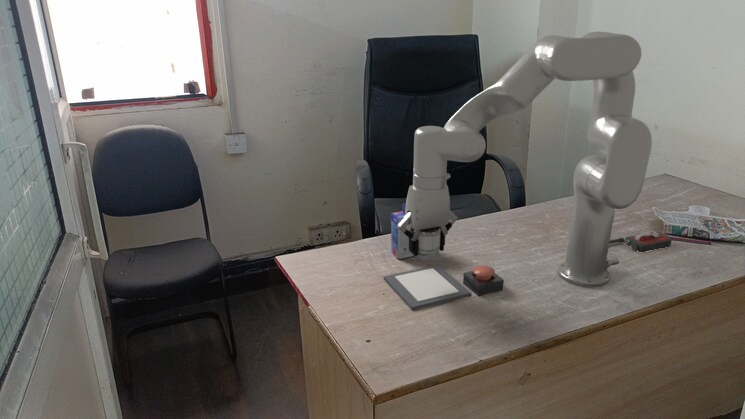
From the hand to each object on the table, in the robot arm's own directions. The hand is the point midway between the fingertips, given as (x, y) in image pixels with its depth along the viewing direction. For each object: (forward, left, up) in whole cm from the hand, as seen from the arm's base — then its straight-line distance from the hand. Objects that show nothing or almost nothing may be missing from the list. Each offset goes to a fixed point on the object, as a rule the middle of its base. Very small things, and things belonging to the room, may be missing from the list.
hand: (426, 250), depth 130 cm
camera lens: (0, 0, -2) cm, 2 cm away
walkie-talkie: (-67, +4, -11) cm, 68 cm away
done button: (-13, +6, -8) cm, 16 cm away
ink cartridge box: (-5, -19, -10) cm, 22 cm away
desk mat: (0, 0, -10) cm, 10 cm away
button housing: (-13, +6, -10) cm, 17 cm away
